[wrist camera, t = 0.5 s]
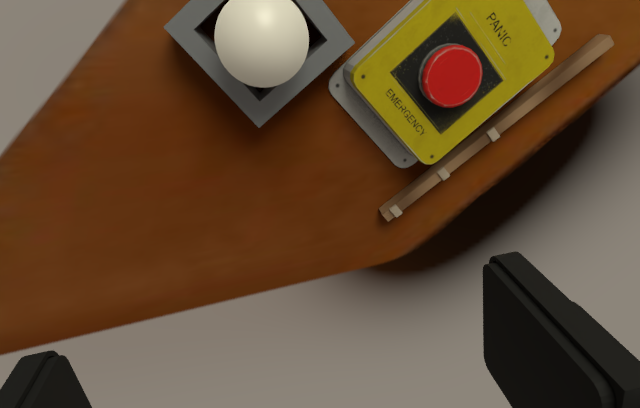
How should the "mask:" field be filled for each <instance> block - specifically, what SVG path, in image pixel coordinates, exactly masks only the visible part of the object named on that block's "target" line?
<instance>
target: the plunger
mask: <svg viewBox="0 0 640 408" xmlns="http://www.w3.org/2000/svg"><path fill="white" fill-rule="evenodd" d="M214 38H215V46H216V50H217V53H218V56H219V58H220V60H221V62H222V64H223V65H224V67H225V68H226V69H227V71H228V72H229V73H230V74H231V75H232V76H233V77H235V78H236V79H237V80H239V81H241V82H243V83H245V84H247V85H250V86H254V87H260V88H267V87H273V86H277V85H280V84H282V83H284V82H286V81H288V80H289V79H290V78H292V77H293V76H294V75H295V74H296V73H297V72H298V71H299V69H300V68H301V66H302V65H303V63H304V61H305V58H306V56H307V52H308V47H309V33H308V28H307V24H306V21H305V19H304V17H303V15H302V13H301V11H300V10H299V8H298V7H297V6H296V5H295V4H294V3H293V2H292V1H291V0H229V1H228V2H227V3H226V5H225V6H224V7H223V9H222V10H221V12H220V14H219V16H218V19H217V22H216V26H215V35H214Z"/></svg>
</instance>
